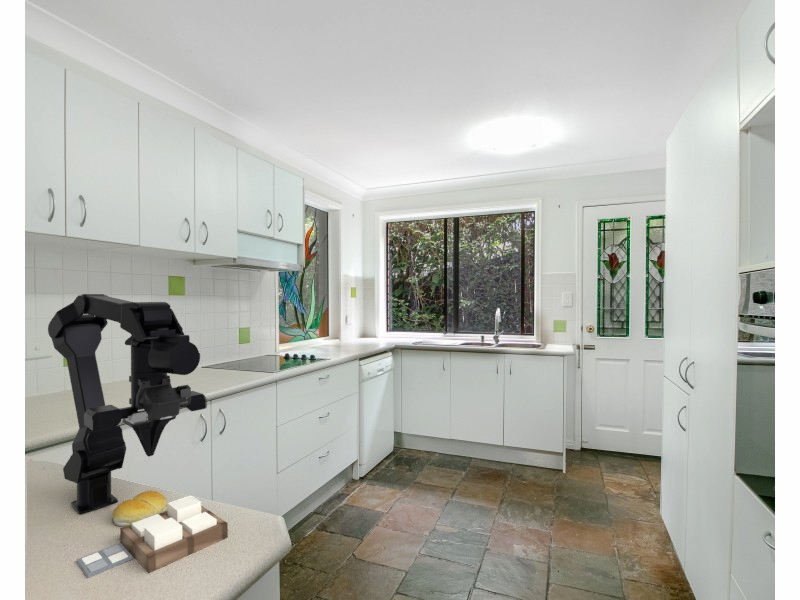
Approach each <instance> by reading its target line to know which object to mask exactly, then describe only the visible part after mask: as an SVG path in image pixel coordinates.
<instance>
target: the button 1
mask: <svg viewBox="0 0 800 600" xmlns="http://www.w3.org/2000/svg"><path fill="white" fill-rule="evenodd" d="M163 520H165V519H164V518H162V517H161V516H160V515H159V514H156V515H154V516H151V517H148V518H145V519H143V520H140V521H137V522H134V523H132V531H133V532H134V533H135V534H136V535H137V536H138V537H139V538H140V537H143V536H144V528H145V527H147V526H150V525H153V524H155V523H158V522H161V521H163Z"/></svg>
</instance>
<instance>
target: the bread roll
mask: <svg viewBox="0 0 800 600" xmlns="http://www.w3.org/2000/svg"><path fill="white" fill-rule="evenodd" d="M167 503H169V501H168V499H167V498H166V496H165V495H163V493H161V492H160V491H159V492H158V491H156V490H145V491H142V492H140V493H138V494H137V495H135V496H134V497H133V498H131V499H127V500H124V501H122V502H121V503H119V504H118V505H117V506H116V507H115V508H114V509H113V512H112V521H113V523H114V524H115V525H116V526H117V527H120V528H122V527H125V526H127V525H130V524H132V523H134V522H137V521H140V520H143V519H145V518H148V517H151V516H154V515H156V514H160V513H163V512H166V511H167Z"/></svg>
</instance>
